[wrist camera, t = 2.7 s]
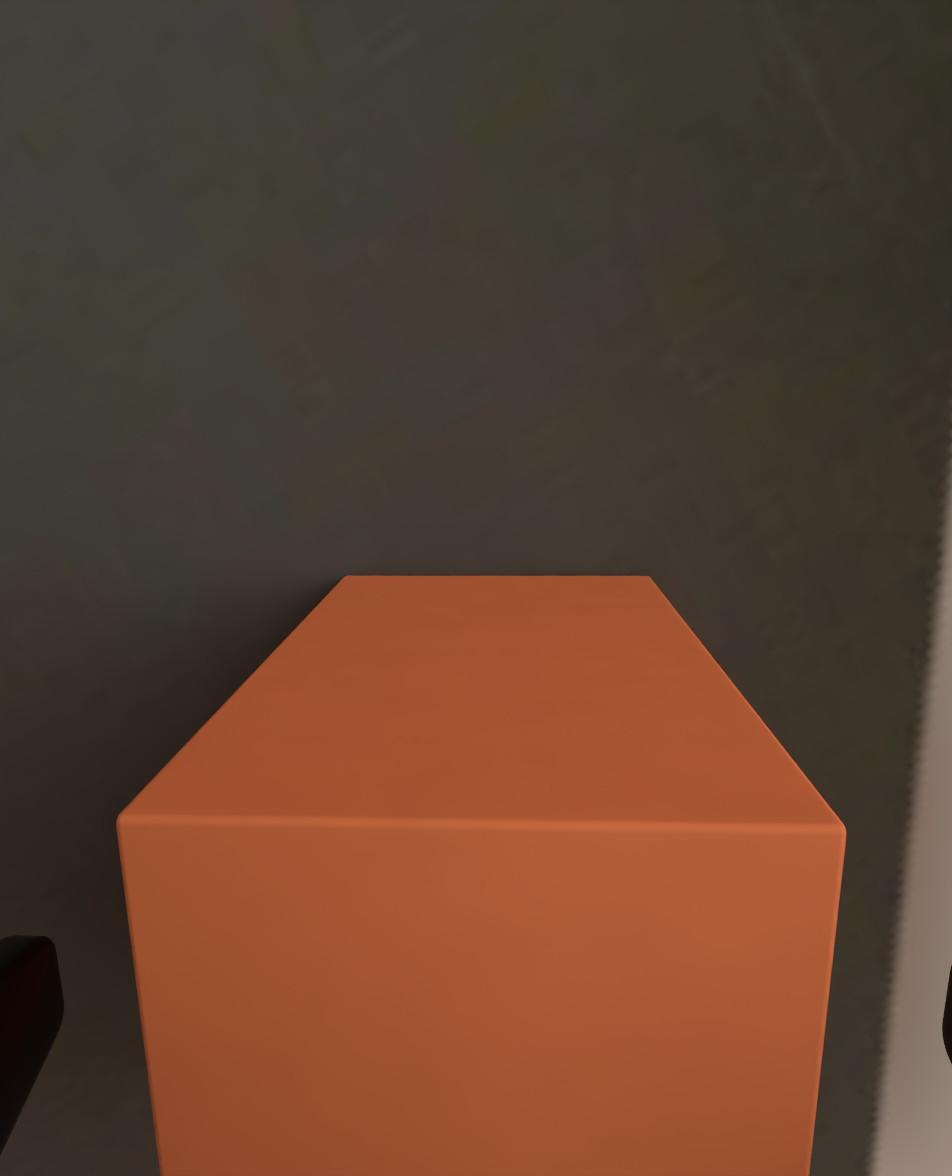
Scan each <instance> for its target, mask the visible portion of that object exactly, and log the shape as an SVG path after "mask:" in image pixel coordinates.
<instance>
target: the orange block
mask: <svg viewBox="0 0 952 1176" xmlns="http://www.w3.org/2000/svg"><path fill="white" fill-rule="evenodd" d="M116 829H117V837H118V845H119V852H120V860H121V868H122V876H123V884H124V892H125V900H126V908H127V916H128V923H129V931H130V939H131V947H132V955H133V963H134V971H135V979H136V986H137V994H138V1002H139V1010H140V1018H141V1026H142V1034H143V1042H144V1050H145V1057H146V1065H147V1073H148V1081H149V1089H150V1097H151V1105H152V1113H153V1121H154V1128H155V1136H156V1144H157V1152H158V1160H159V1168H160V1176H809V1170H810V1161H811V1152H812V1143H813V1134H814V1125H815V1116H816V1106H817V1097H818V1088H819V1079H820V1070H821V1061H822V1052H823V1043H824V1034H825V1024H826V1015H827V1006H828V997H829V988H830V979H831V970H832V961H833V952H834V942H835V933H836V924H837V915H838V906H839V897H840V888H841V879H842V870H843V861H844V851H845V842H846V829H845V826H844V824H843V823H842V822H841V821H840V819H839V818H838V817H837V816H836V814H835V813H834V812H833V810H832V809H831V808H830V807H829V805H828V804H827V803H826V801H825V800H824V799H823V798H822V796H821V795H820V794H819V793H818V791H817V790H816V789H815V787H814V786H813V785H812V784H811V782H810V781H809V780H808V779H807V777H806V776H805V775H804V773H803V772H802V771H801V770H800V768H799V767H798V766H797V764H796V763H795V762H794V761H793V759H792V758H791V757H790V756H789V754H788V753H787V752H786V750H785V749H784V748H783V747H782V745H781V744H780V743H779V742H778V740H777V739H776V738H775V736H774V735H773V734H772V733H771V731H770V730H769V729H768V727H767V726H766V725H765V724H764V722H763V721H762V720H761V719H760V717H759V716H758V715H757V713H756V712H755V711H754V710H753V708H752V707H751V706H750V705H749V703H748V702H747V701H746V699H745V698H744V697H743V696H742V694H741V693H740V692H739V690H738V689H737V688H736V687H735V685H734V684H733V683H732V682H731V680H730V679H729V678H728V676H727V675H726V674H725V673H724V671H723V670H722V669H721V668H720V666H719V665H718V664H717V662H716V661H715V660H714V659H713V657H712V656H711V655H710V653H709V652H708V651H707V650H706V648H705V647H704V646H703V645H702V643H701V642H700V641H699V639H698V638H697V637H696V636H695V634H694V633H693V632H692V631H691V629H690V628H689V627H688V625H687V624H686V623H685V622H684V620H683V619H682V618H681V616H680V615H679V614H678V613H677V611H676V610H675V609H674V608H673V606H672V605H671V604H670V602H669V601H668V600H667V599H666V597H665V596H664V595H663V594H662V592H661V591H660V590H659V588H658V587H657V586H656V585H655V583H654V582H653V581H652V579H651V578H650V577H648V576H345V577H344V578H343V579H342V580H341V581H340V582H339V583H338V584H337V585H336V586H335V587H334V588H333V589H332V590H331V591H330V592H329V593H328V594H327V596H326V597H325V598H324V599H323V600H322V601H321V602H320V603H319V604H318V605H317V606H316V607H315V608H314V609H313V610H312V611H311V612H310V613H309V615H308V616H307V617H306V618H305V619H304V620H303V621H302V622H301V623H300V624H299V625H298V626H297V627H296V628H295V629H294V630H293V631H292V632H291V633H290V635H289V636H288V637H287V638H286V639H285V640H284V641H283V642H282V643H281V644H280V645H279V646H278V647H277V648H276V649H275V650H274V651H273V652H272V654H271V655H270V656H269V657H268V658H267V659H266V660H265V661H264V662H263V663H262V664H261V665H260V666H259V667H258V668H257V669H256V670H255V671H254V673H253V674H252V675H251V676H250V677H249V678H248V679H247V680H246V681H245V682H244V683H243V684H242V685H241V686H240V687H239V688H238V689H237V690H236V692H235V693H234V694H233V695H232V696H231V697H230V698H229V699H228V700H227V701H226V702H225V703H224V704H223V705H222V706H221V707H220V708H219V709H218V711H217V712H216V713H215V714H214V715H213V716H212V717H211V718H210V719H209V720H208V721H207V722H206V723H205V724H204V725H203V726H202V727H201V728H200V730H199V731H198V732H197V733H196V734H195V735H194V736H193V737H192V738H191V739H190V740H189V741H188V742H187V743H186V744H185V745H184V746H183V747H182V749H181V750H180V751H179V752H178V753H177V754H176V755H175V756H174V757H173V758H172V759H171V760H170V761H169V762H168V763H167V764H166V765H165V766H164V768H163V769H162V770H161V771H160V772H159V773H158V774H157V775H156V776H155V777H154V778H153V779H152V780H151V781H150V782H149V783H148V784H147V785H146V787H145V788H144V789H143V790H142V791H141V792H140V793H139V794H138V795H137V796H136V797H135V798H134V799H133V800H132V801H131V802H130V803H129V804H128V806H127V807H126V808H125V809H124V810H123V811H122V812H121V813H120V814H119V815H118V818H117V821H116Z"/></svg>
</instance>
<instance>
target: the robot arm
mask: <svg viewBox="0 0 952 1176" xmlns="http://www.w3.org/2000/svg"><path fill="white" fill-rule="evenodd" d="M63 1014H64V1000H63V993H62V987H61V980H60V974H59V967H58V960H57V954H56V949H55V945H54V943H53V942H52V940H51V939H49V938H47V937H45V936H21V935H15V936H8V937H5V938H3V939H1V940H0V1155H1V1153H2V1151H3V1149H4V1147H5V1145H6V1142H7V1140H8V1138H9V1136H10V1134H11V1132H12V1130H13V1128H14V1125H15V1123H16V1121H17V1119H18V1117H19V1115H20V1113H21V1111H22V1108H23V1106H24V1104H25V1102H26V1100H27V1098H28V1096H29V1094H30V1092H31V1089H32V1087H33V1085H34V1083H35V1081H36V1079H37V1077H38V1075H39V1072H40V1070H41V1068H42V1066H43V1064H44V1062H45V1060H46V1058H47V1055H48V1053H49V1051H50V1049H51V1047H52V1045H53V1043H54V1041H55V1038H56V1036H57V1034H58V1032H59V1029H60V1026H61V1023H62V1019H63ZM942 1030H943V1040H944V1045H945V1048H946V1051H947V1054H948V1056H949V1059H950V1061H951V1063H952V966H951V970H950V977H949V983H948V990H947V996H946V1003H945V1010H944V1017H943V1026H942Z"/></svg>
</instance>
